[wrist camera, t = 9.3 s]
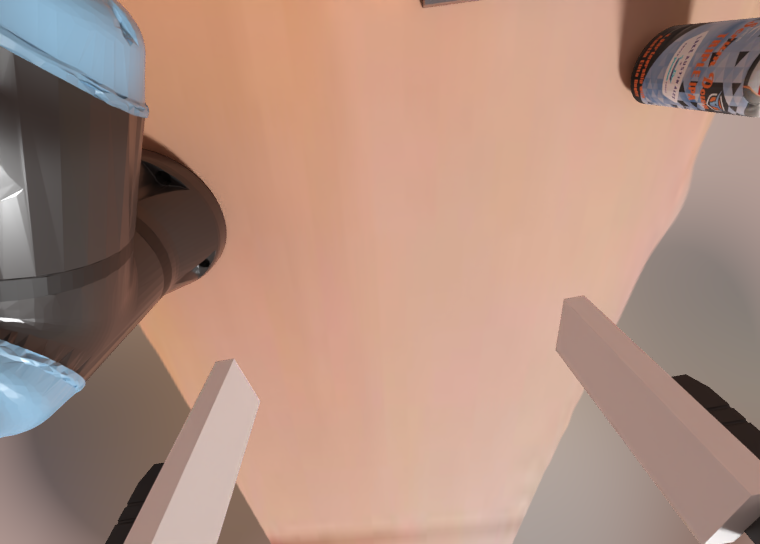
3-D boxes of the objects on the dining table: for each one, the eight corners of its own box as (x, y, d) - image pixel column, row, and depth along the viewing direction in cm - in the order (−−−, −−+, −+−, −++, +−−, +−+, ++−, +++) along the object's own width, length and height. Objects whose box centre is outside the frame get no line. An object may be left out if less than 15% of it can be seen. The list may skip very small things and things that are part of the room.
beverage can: (642, 21, 28) (808, -15, 18) (712, 36, 29) (910, 10, 18) (606, 101, 31) (730, 109, 21) (671, 112, 32) (819, 125, 22)
